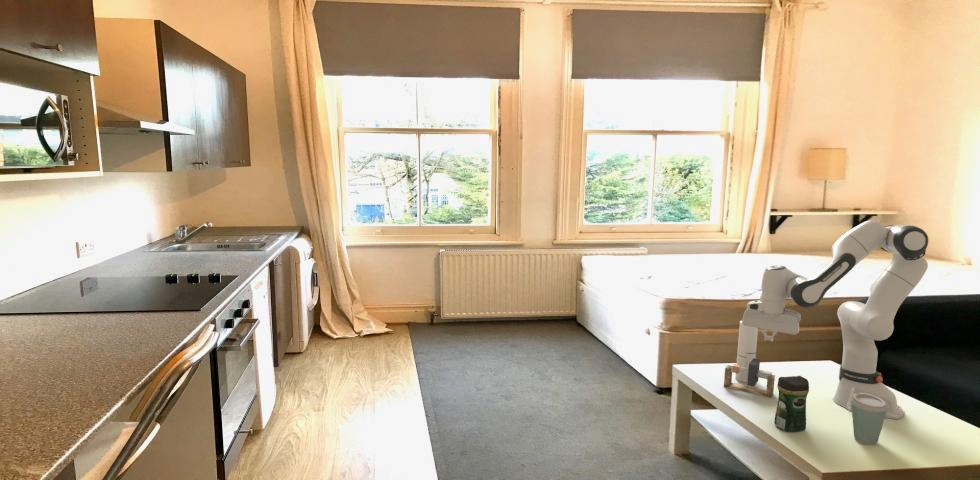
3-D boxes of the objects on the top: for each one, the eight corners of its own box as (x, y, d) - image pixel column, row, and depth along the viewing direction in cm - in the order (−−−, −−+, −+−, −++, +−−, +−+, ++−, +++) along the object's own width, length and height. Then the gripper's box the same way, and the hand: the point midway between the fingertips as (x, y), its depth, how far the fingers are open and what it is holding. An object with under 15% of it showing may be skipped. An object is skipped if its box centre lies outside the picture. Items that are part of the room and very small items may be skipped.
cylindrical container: (755, 383, 240) (760, 325, 236) (737, 381, 241) (742, 324, 238) (751, 376, 247) (756, 320, 243) (733, 375, 248) (738, 319, 245)
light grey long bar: (771, 378, 228) (772, 371, 227) (770, 380, 225) (770, 373, 225) (729, 369, 237) (730, 362, 236) (727, 371, 235) (728, 364, 234)
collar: (758, 380, 233) (760, 359, 232) (753, 386, 227) (755, 365, 225) (751, 379, 235) (753, 358, 233) (747, 385, 228) (749, 363, 227)
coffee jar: (793, 421, 205) (798, 372, 202) (809, 431, 197) (814, 380, 194) (769, 423, 203) (774, 373, 201) (784, 433, 195) (789, 382, 193)
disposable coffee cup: (891, 446, 188) (897, 403, 186) (866, 450, 185) (871, 406, 183) (862, 431, 198) (867, 390, 196) (838, 435, 195) (842, 393, 193)
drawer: (773, 394, 228) (774, 375, 227) (771, 397, 225) (773, 378, 224) (726, 383, 239) (727, 365, 238) (723, 386, 236) (725, 367, 234)
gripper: (802, 309, 220) (799, 344, 222) (746, 300, 232) (743, 333, 234) (800, 313, 215) (796, 348, 217) (742, 303, 227) (739, 337, 229)
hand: (768, 340), depth 225 cm, fingers closed
